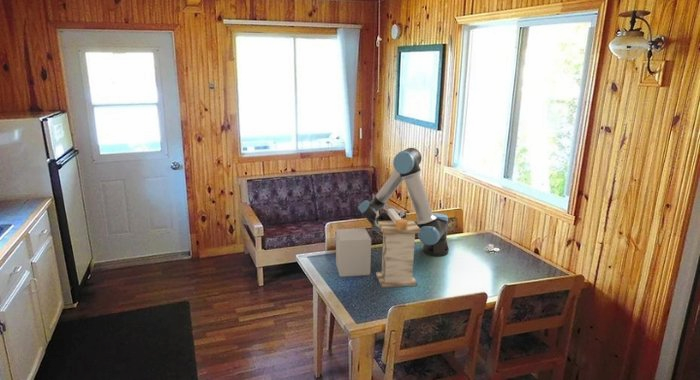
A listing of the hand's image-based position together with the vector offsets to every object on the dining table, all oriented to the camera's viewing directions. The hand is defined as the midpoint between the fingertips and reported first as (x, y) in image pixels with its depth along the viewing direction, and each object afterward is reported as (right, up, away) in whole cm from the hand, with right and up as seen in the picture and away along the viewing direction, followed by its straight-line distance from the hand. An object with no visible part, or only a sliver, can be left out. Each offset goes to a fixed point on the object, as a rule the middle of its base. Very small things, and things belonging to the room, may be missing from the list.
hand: (390, 212), depth 235 cm
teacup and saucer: (+64, -26, +32) cm, 76 cm away
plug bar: (+2, -4, -7) cm, 9 cm away
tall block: (-20, -31, +8) cm, 37 cm away
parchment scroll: (+2, -34, -4) cm, 35 cm away
